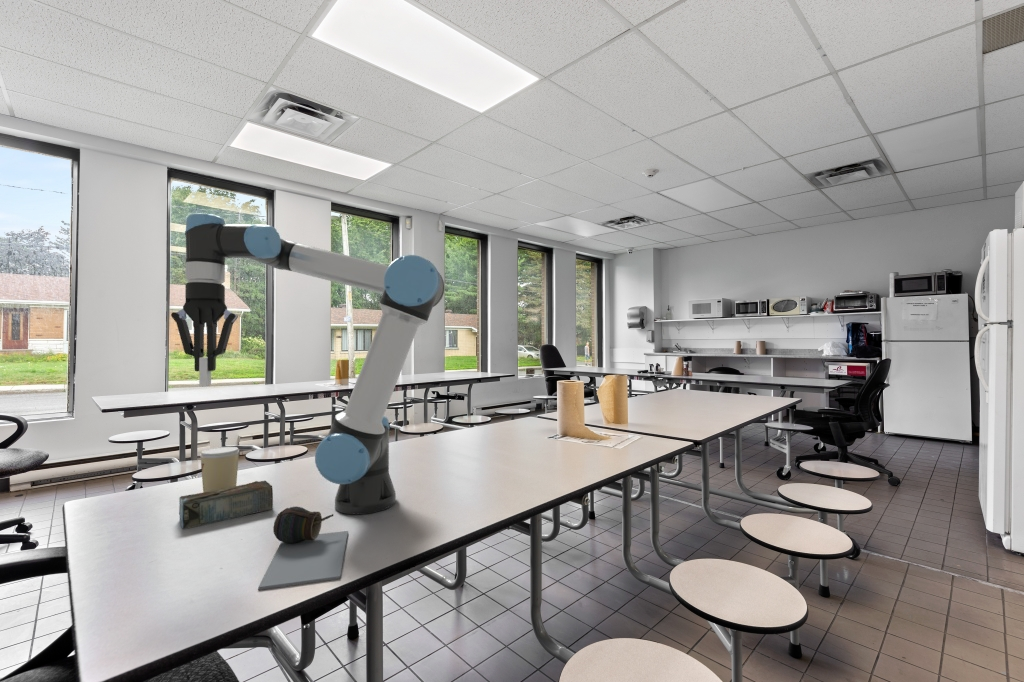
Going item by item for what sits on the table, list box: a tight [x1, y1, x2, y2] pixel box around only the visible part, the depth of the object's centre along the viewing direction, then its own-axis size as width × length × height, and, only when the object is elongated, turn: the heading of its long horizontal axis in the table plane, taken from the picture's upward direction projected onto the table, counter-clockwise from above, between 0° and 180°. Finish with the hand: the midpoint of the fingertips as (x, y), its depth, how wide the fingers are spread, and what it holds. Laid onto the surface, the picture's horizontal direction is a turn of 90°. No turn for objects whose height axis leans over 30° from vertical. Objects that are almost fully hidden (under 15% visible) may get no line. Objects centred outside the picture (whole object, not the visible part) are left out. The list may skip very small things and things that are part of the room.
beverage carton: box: [178, 480, 274, 530], centre depth 112 cm, size 8×19×7 cm, turn 131°
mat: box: [257, 530, 349, 591], centre depth 88 cm, size 13×20×1 cm, turn 16°
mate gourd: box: [272, 506, 334, 544], centre depth 95 cm, size 7×8×10 cm
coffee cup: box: [199, 446, 240, 493], centre depth 128 cm, size 9×9×12 cm
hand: (205, 385), depth 104 cm, fingers closed
